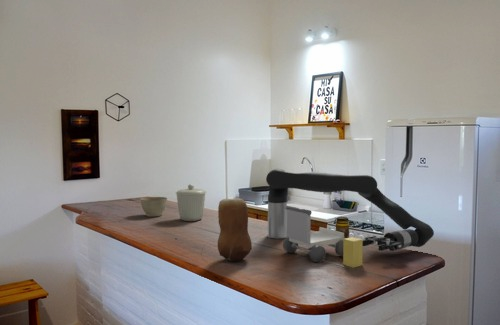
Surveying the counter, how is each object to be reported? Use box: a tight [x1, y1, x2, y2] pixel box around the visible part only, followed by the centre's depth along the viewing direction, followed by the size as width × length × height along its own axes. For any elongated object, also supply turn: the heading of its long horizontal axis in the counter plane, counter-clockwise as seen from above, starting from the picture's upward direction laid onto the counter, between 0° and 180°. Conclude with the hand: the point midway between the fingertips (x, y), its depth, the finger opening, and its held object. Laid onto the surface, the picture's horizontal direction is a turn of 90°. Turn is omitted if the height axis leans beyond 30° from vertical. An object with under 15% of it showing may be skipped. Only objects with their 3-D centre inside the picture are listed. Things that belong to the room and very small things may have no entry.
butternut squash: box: [217, 198, 253, 263], centre depth 172 cm, size 14×13×25 cm
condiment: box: [334, 216, 350, 245], centre depth 199 cm, size 7×8×12 cm
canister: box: [175, 183, 207, 222], centre depth 257 cm, size 18×18×21 cm
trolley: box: [282, 205, 344, 264], centre depth 180 cm, size 21×19×20 cm
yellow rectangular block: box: [342, 236, 363, 268], centre depth 166 cm, size 5×5×10 cm
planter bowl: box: [140, 196, 168, 218], centre depth 271 cm, size 16×16×11 cm
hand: (370, 245), depth 171 cm, fingers open, 8 cm apart
